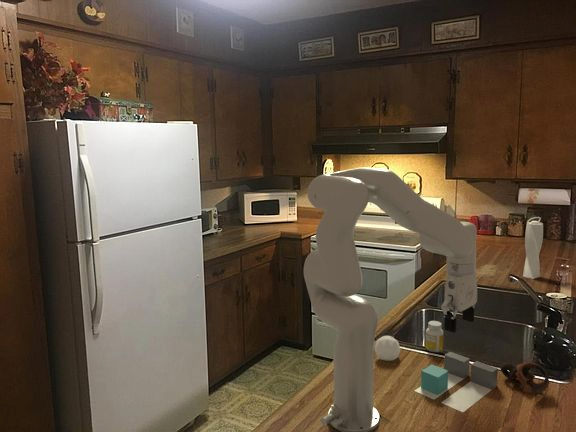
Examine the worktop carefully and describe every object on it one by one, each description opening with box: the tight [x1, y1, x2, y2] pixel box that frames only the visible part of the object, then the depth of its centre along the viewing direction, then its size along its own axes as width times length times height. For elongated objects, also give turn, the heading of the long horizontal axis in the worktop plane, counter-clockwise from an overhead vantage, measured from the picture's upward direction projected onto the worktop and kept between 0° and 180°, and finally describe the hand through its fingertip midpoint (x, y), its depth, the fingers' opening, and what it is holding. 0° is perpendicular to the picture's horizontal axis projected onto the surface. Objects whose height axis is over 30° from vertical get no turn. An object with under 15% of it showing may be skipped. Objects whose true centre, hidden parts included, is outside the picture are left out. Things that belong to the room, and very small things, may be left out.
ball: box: [373, 335, 401, 362], centre depth 147 cm, size 8×8×8 cm
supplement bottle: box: [424, 320, 444, 353], centre depth 152 cm, size 5×5×10 cm
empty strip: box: [441, 360, 499, 413], centre depth 126 cm, size 18×6×6 cm, turn 132°
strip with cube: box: [413, 351, 471, 400], centre depth 131 cm, size 18×6×6 cm, turn 132°
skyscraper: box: [522, 216, 544, 280], centre depth 223 cm, size 8×8×28 cm
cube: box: [420, 364, 448, 395], centre depth 129 cm, size 5×5×5 cm
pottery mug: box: [499, 361, 550, 395], centre depth 130 cm, size 12×10×8 cm
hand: (459, 325), depth 134 cm, fingers open, 9 cm apart
